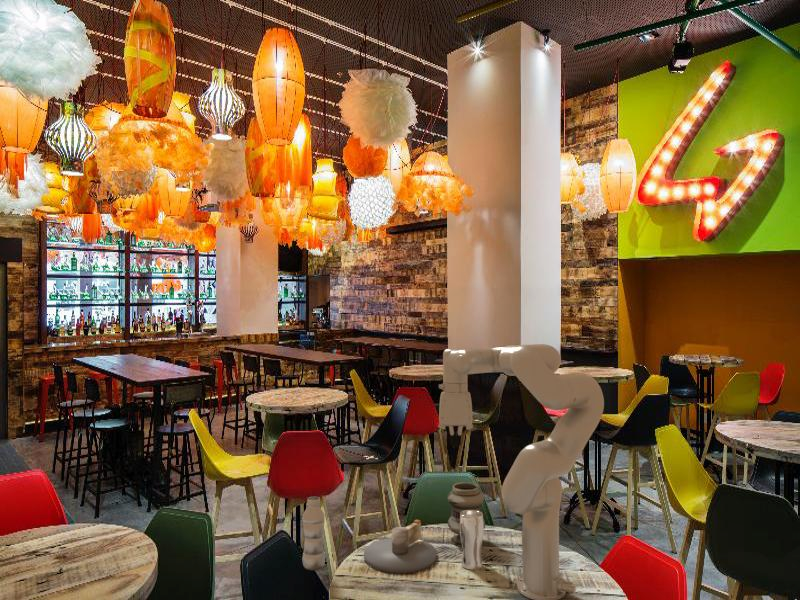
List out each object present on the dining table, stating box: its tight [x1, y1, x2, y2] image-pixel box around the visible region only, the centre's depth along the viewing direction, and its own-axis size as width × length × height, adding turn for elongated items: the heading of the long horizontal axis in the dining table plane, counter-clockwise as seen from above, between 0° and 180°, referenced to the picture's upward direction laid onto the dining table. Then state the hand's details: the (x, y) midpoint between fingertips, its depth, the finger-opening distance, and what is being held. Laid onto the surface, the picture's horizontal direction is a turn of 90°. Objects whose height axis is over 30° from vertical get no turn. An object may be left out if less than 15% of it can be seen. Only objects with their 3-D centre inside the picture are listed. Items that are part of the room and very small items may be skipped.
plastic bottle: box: [301, 496, 326, 571], centre depth 163 cm, size 6×7×20 cm
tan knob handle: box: [391, 519, 422, 554], centre depth 174 cm, size 12×5×6 cm, turn 144°
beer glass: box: [460, 510, 485, 571], centre depth 164 cm, size 7×7×15 cm
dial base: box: [363, 537, 438, 574], centre depth 170 cm, size 22×22×2 cm
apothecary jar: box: [447, 481, 486, 548], centre depth 182 cm, size 12×12×18 cm
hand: (455, 447), depth 175 cm, fingers closed
